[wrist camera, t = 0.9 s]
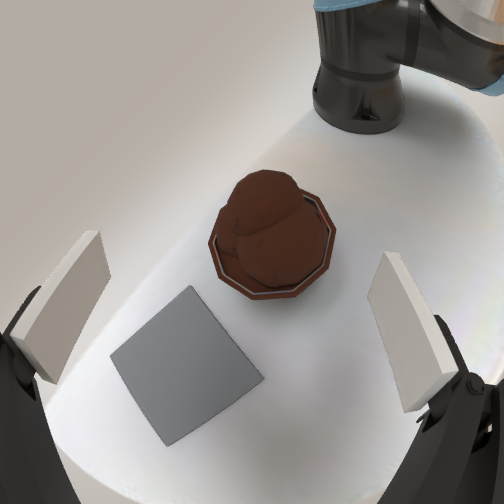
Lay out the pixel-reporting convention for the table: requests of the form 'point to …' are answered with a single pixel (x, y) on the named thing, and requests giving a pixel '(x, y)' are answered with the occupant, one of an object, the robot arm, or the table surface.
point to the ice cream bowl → (271, 237)
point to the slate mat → (183, 367)
